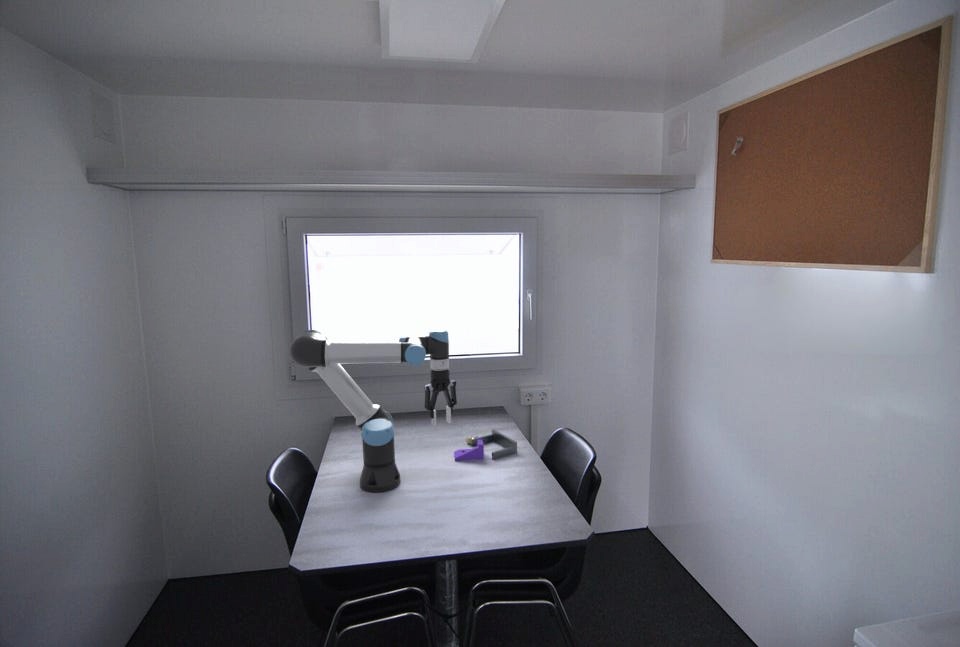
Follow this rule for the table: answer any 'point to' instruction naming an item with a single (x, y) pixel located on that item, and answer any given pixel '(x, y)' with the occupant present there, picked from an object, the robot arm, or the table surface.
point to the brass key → (470, 439)
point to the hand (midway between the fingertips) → (441, 423)
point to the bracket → (470, 453)
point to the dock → (501, 440)
